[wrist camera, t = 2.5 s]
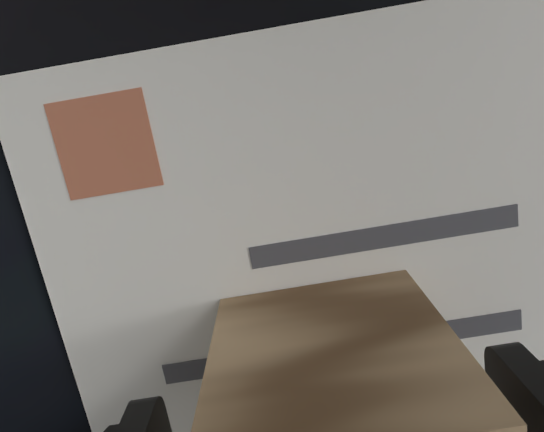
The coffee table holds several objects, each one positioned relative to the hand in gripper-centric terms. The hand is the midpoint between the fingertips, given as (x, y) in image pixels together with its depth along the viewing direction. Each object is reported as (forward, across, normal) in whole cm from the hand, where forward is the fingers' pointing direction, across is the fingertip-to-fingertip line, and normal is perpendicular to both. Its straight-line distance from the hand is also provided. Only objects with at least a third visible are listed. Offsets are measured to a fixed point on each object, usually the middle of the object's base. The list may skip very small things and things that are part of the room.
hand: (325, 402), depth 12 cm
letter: (+2, 0, 0) cm, 2 cm away
